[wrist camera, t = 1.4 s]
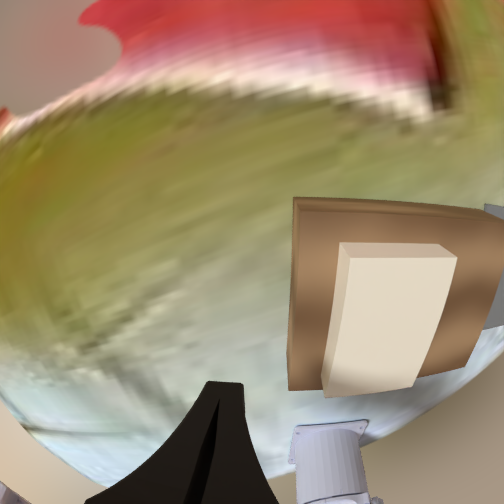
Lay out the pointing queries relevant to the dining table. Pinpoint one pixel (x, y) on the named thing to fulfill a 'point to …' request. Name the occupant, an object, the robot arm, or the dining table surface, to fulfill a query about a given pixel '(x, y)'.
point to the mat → (500, 310)
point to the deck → (389, 231)
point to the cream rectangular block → (384, 315)
